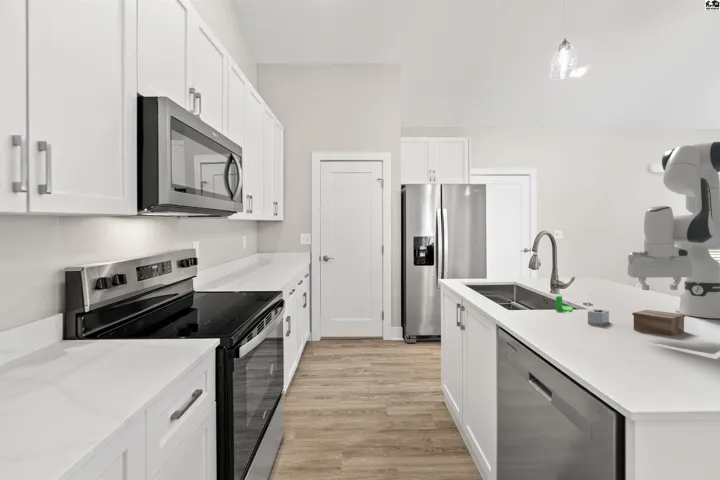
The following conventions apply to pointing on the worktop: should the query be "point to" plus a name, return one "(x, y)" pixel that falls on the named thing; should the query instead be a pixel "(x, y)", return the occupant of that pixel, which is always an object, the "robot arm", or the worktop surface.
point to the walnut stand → (659, 322)
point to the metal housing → (598, 317)
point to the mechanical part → (559, 304)
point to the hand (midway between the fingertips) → (659, 289)
